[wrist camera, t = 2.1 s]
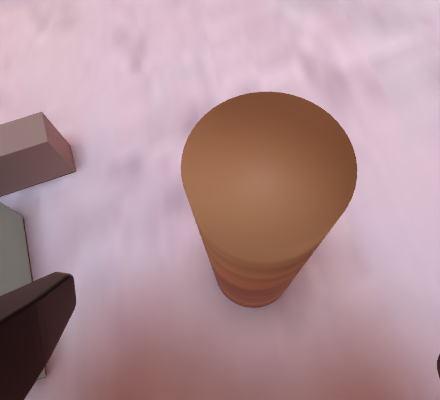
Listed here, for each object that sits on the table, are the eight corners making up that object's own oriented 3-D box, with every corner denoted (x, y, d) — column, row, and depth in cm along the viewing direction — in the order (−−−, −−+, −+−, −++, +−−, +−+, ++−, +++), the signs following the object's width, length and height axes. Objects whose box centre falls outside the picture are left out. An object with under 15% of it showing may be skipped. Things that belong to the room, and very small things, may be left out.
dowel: (263, 323, 18) (298, 285, 7) (200, 278, 19) (145, 183, 8) (304, 259, 19) (388, 141, 8) (242, 219, 20) (244, 67, 9)
